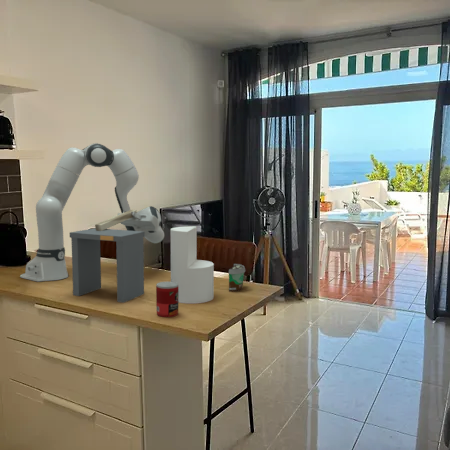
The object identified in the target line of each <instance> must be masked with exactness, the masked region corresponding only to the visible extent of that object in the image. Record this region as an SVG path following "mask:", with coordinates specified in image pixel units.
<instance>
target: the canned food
mask: <svg viewBox="0 0 450 450" xmlns="http://www.w3.org/2000/svg"><path fill="white" fill-rule="evenodd" d="M155 290H156V291H155V292H156V293H155V294H156V295H155V296H156V297H155V299H156V300H155V301H156V303H155V304H156V308H155V309H156V315H157V316H158V317H160V318H161V317H162V318H174V317H176V316H178V315H179V302H178V283H176V282H171V281H160V282H157V283H156V286H155Z"/></svg>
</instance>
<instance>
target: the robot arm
mask: <svg viewBox="0 0 450 450" xmlns="http://www.w3.org/2000/svg"><path fill="white" fill-rule="evenodd" d="M86 166H91V167H94V168H101V167H108V168H109V169H110V171H111V172H112V174H113V177H114V178H115V183H116V184H115V185H116V186H115V187H114V193H115V197H116V200H117V203H118V207H119V209H120V212H121V213H119V212H118V213H117V215H120V214H122V213H125V212H127V211H129V210H131V207H130V204H129V201H128V194H129V193H130V192H131V190H133V189H134V187H136V185H137V184H138V181H139V179H140V177H139V176H140V175H139V172H138V170H137V168H136V166H135V164H134V162H133V160H132V159H131V157H130V156H129V154H128V153H127V152H126V151H125V149H122V148H115V149H113V150H111V149H109V148H108V146H105V145H103V144H101V143H98V142H95V143H90V144H89V145H87V146H86V147H84V148H83V149H80V148H78V147H69V148H68V149H66V150H65V152H64V153H63V154H62V156H61V158H60V159H59V161H58V163H57V165H56V166H55V168H54V170H53V173H52V175H50V176H51V177H50V179H49V180H48V183H47V186H46V187H45V190H44V191H43V193H42V195H41V198H40V199H39V200H38V201H37V202H36V204H35V213H36V215H35V216H36V226H37V237H38V248H37V249H34V250H33V251H34V253H36V254H35V256H34V257H33V259H31V260H30V261H29V262H27V263H26V265H25V273H22V274H20V276H19V277H20V278H22V279H25V280H30V281H33V282H46V281H47V282H48V281H58V280H63V279H67V278H69V273H68V269H67V263H66V258H65V256H66V248H65V247H64V245H65V243H64V242H65V241H64V226H63V225H64V224H63V211H64V208H65V206H66V204H67V203H68V200H69V199H70V196H71V194H72V192H73V190H74V189H75V187H76V184H77V182H78V180H79V178H80V176H81V174H82V172H83V170H84V168H86ZM161 214H162V213H160V211H159V210H158V209H157V208H156V207H154V206H151V205H150V206H148V207H145V208H143V209H140V210H139V211H137V213H135V212H131V216H133V217H132V218H130V219H128V220H125V221H123V222H121V223H120V225H123V226H124V227H125V230H128V231H142V232H145V237H143V239H144V238H145V239H146V240H147V241H148V242H149V243H150V242H151V243H153V244H158V243H161V242H163V240H164V238H165V232H164V230H163V228H162V221H163V220H162V215H161Z"/></svg>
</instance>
